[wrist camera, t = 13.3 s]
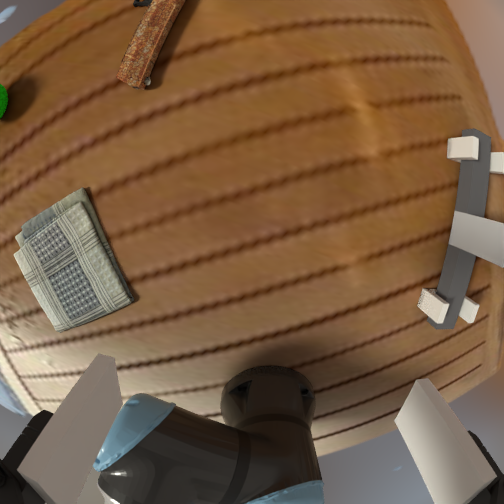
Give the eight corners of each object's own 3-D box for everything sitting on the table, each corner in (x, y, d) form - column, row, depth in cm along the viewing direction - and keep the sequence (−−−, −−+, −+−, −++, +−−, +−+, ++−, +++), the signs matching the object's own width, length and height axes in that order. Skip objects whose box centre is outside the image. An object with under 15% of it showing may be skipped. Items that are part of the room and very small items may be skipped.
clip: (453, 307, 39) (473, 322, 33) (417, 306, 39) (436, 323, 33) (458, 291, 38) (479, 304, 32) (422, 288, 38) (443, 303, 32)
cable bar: (443, 320, 38) (485, 357, 27) (426, 320, 38) (468, 360, 27) (478, 138, 31) (532, 135, 19) (462, 130, 31) (517, 123, 19)
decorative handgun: (60, 80, 28) (145, 86, 29) (136, -56, 21) (221, -60, 22) (72, 85, 31) (154, 92, 32) (142, -46, 24) (223, -48, 25)
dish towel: (139, 299, 39) (131, 309, 36) (63, 329, 40) (53, 338, 37) (86, 181, 35) (73, 182, 31) (17, 233, 36) (5, 237, 33)
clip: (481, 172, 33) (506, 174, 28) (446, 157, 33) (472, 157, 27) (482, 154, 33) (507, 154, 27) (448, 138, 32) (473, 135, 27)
